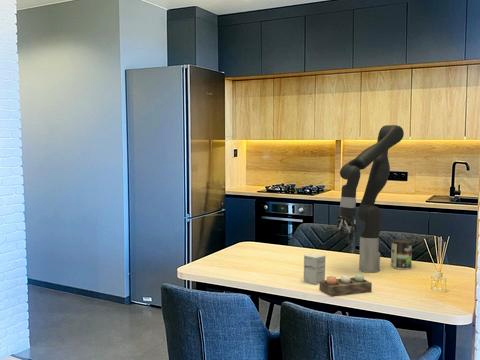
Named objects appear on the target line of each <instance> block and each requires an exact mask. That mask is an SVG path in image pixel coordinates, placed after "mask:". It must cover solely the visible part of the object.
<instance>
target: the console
mask: <svg viewBox="0 0 480 360" xmlns="http://www.w3.org/2000/svg"><path fill="white" fill-rule="evenodd" d="M318 285H319V288H318V290H319V291H320V292H322V293H324V294H326V295H328V296H329V297H340V296H347V295H348V296H349V295H356V294H366V292H367V293H372V289H373V284H372V282H371V281H369V280H367V279H364V282H356V281H355V276H353V277H350V283H348V284H343V283H341V278H336V285H330V286H329V285H327V279H325V280H323V281H319V284H318Z"/></svg>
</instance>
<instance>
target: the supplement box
mask: <svg viewBox="0 0 480 360" xmlns="http://www.w3.org/2000/svg"><path fill="white" fill-rule="evenodd" d="M323 280H326V255H325V254H320V253H314V252H311V253H307V254H304V255H303V282H304V283H309V284H313V285H319V281H323Z"/></svg>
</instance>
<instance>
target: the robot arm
mask: <svg viewBox="0 0 480 360" xmlns="http://www.w3.org/2000/svg"><path fill="white" fill-rule="evenodd" d="M404 135H405V132H404V128H402V127H401V125H395V124H392V125H390V124H389V125H388V124H387V125H383V126H382V127H381V128H380V129H379V131H378V136H377V141H376V143H374V144H372V145H370V146H369V147H367V148H365V149H364V150H363V151H361V152H360V153H359V154H358V155H357V156H356V157H355V158H354V159H352V160H350V161H348V162H347V163H345V164H344V165H342V167H341V168H340V171H339V175H340V178H341V179H343V180H346V183H345V184H343V185H342V187H341V196H340V204H339V215H338V216H337V220H336V228H337V229H338V231H339V232H338V238H341V239H342V238H344V234H345V230H344V229H345V228H346V229H347V231H348V239H347V240H348V241H349V242H350V241H354V234H355V233H357V232H358V220H359V221H360V222H362V223H364V224H365V225H364V229H362V230H360V232H359V259H358V260H359V267H358V270H359V271H361V272H362V273H363V272H365V273H377V272H380V271H381V270H380V269H381V266H380V265H381V264H380V263H381V252H380V251H379V245H380V244H379V241H380V239H379V238H380V236H379V235H380V233H381V228H382V211H381V209H380V207H378V206H376V205H375V204H376V200H377V198H378V195H379V194H380V193H381V191H382V190H383V189H384V188H385V186H386V185H387V183H388V181H389V180H388V179H389V175H390V171H391V165H390V161H389V153H388V152H389V150H390V148H392V147H394V146H395V145H397V144H399V143H400V142H401V141H402V140H403V139H404ZM371 164H372V165H371ZM370 165H371V168H370V171H369V175H368V179H367V183H366V186H365V191H364V194H363V197H362V199H361V202H360V204H359V206H358V210H357V219H354V217H356V208H357V207H356V206H357V188H358V185H359V183H360V179H361V170H364V169H367V167H369V166H370Z"/></svg>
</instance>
